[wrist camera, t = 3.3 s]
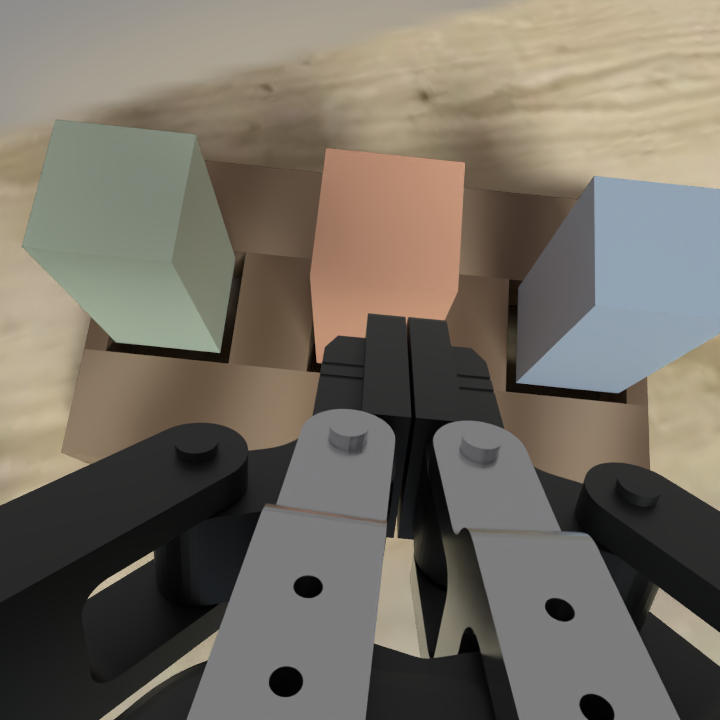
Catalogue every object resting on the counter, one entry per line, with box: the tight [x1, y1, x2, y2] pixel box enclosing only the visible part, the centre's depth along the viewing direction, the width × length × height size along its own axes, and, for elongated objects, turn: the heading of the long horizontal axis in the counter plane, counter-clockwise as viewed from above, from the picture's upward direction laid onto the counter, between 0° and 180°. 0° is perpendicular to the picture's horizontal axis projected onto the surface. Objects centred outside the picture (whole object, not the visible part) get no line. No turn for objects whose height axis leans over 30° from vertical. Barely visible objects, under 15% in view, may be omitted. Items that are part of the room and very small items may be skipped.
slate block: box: [516, 176, 720, 393], centre depth 25 cm, size 4×4×9 cm
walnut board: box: [61, 161, 650, 483], centre depth 31 cm, size 24×14×3 cm, turn 85°
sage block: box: [22, 120, 235, 353], centre depth 25 cm, size 4×4×9 cm
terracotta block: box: [310, 148, 465, 363], centre depth 25 cm, size 4×4×9 cm
